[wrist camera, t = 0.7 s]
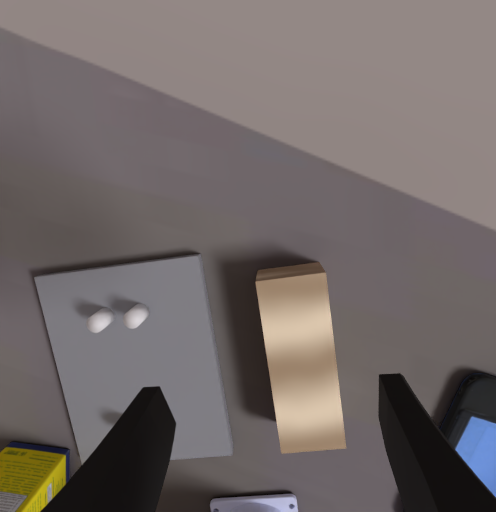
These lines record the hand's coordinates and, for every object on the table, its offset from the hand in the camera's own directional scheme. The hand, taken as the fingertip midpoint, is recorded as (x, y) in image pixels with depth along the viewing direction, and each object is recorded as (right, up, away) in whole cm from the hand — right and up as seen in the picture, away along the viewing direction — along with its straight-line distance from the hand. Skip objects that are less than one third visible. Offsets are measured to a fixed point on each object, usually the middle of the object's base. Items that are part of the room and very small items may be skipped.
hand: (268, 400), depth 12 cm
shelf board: (+4, -3, +18) cm, 19 cm away
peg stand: (-10, -5, +19) cm, 22 cm away
